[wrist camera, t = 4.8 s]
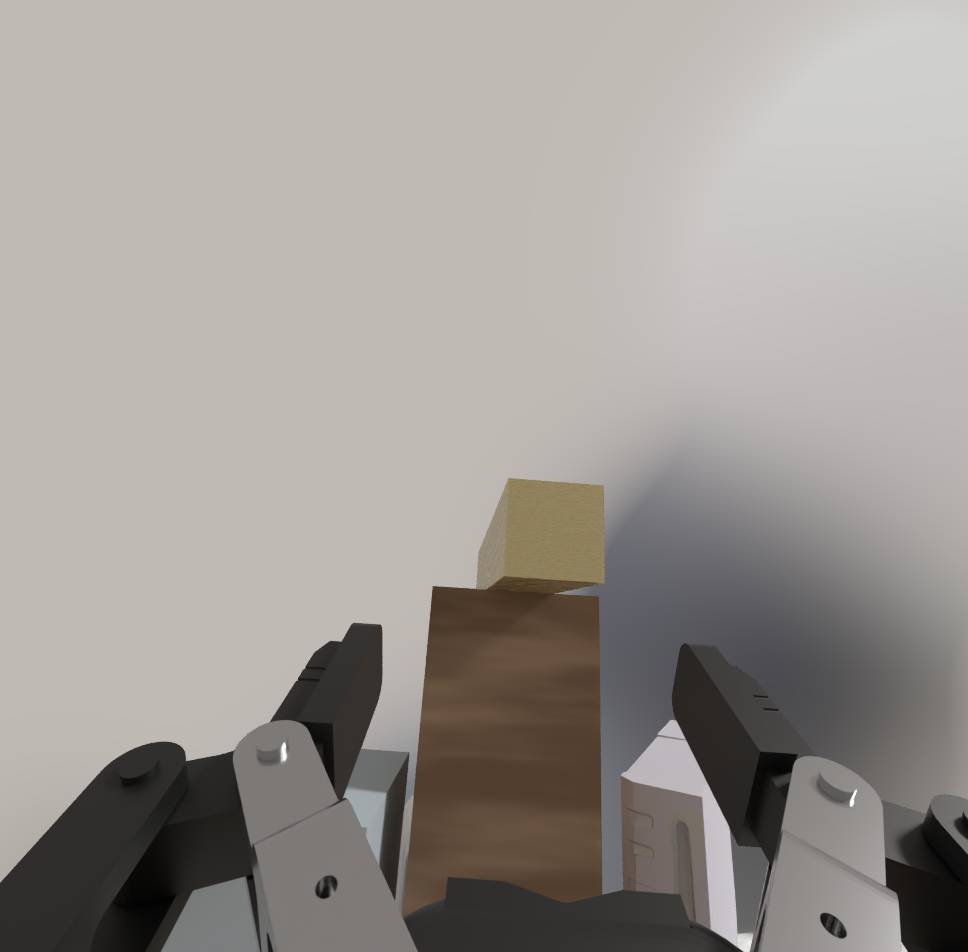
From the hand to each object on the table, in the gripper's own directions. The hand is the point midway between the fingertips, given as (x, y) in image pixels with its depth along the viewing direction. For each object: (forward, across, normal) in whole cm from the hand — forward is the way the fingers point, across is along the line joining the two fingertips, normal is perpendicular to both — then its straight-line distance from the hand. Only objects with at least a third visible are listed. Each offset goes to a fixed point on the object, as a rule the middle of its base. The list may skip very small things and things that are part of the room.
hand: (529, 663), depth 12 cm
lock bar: (+16, +1, -6) cm, 17 cm away
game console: (+16, +18, -44) cm, 50 cm away
